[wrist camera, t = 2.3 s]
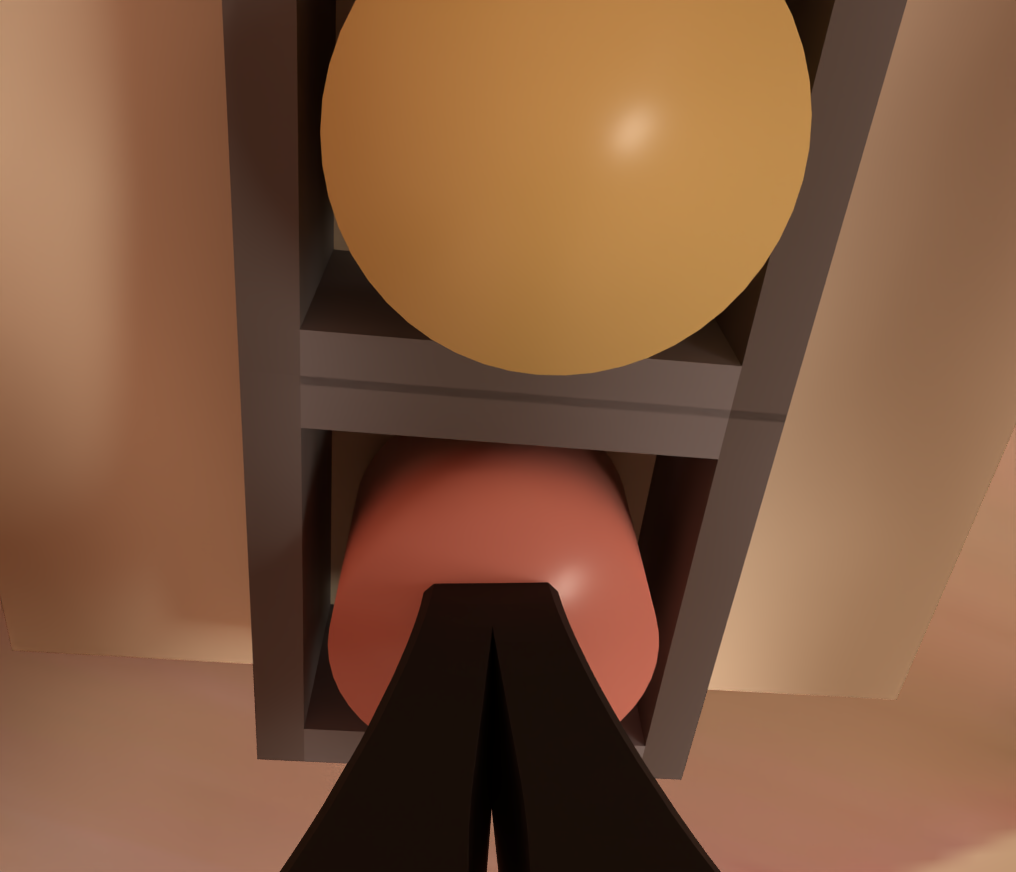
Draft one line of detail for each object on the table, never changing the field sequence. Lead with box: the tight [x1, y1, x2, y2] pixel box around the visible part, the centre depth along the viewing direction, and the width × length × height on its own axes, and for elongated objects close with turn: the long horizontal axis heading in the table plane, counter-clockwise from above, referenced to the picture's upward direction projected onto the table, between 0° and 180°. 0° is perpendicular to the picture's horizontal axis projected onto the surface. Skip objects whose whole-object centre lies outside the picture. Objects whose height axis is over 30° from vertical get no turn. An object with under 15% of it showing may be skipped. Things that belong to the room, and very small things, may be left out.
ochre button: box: [320, 0, 812, 375], centre depth 8 cm, size 4×4×2 cm
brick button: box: [328, 435, 659, 725], centre depth 11 cm, size 4×4×2 cm
